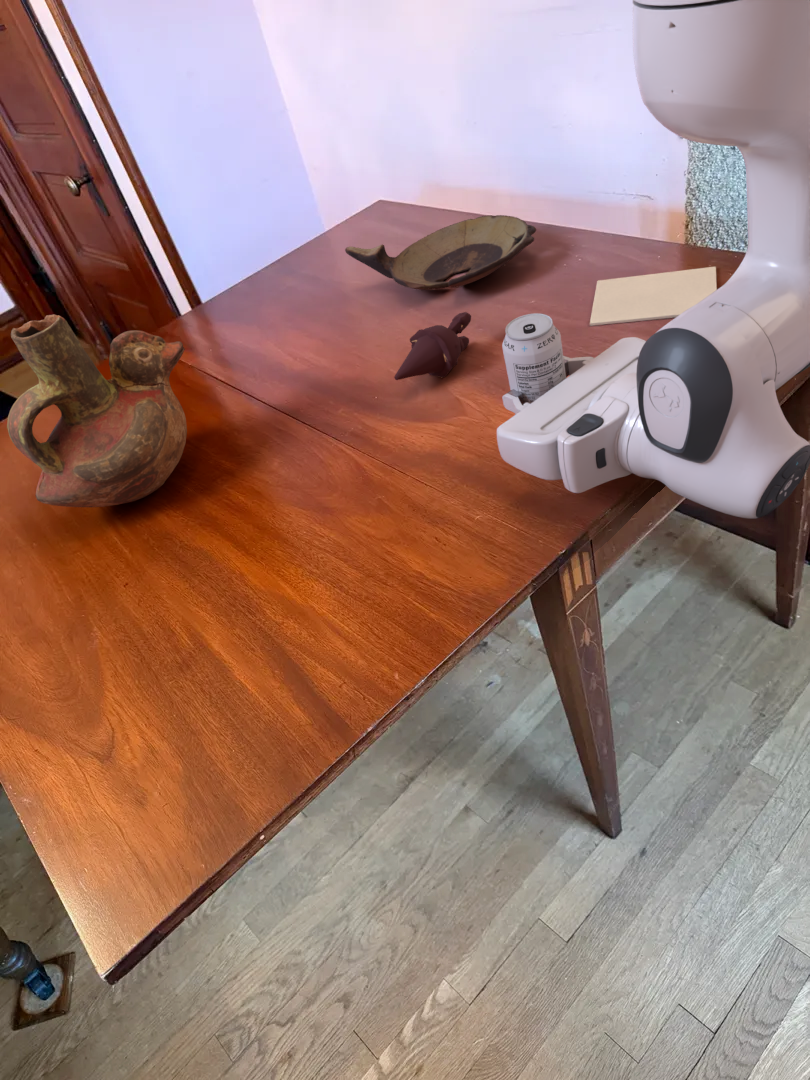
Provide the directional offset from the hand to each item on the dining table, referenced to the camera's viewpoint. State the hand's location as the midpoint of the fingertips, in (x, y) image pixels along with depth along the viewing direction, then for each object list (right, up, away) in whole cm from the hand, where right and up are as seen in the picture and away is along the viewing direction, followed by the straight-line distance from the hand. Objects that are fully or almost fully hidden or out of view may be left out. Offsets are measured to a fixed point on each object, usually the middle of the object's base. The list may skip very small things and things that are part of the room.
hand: (531, 381), depth 81 cm
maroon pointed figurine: (-9, +6, +22) cm, 24 cm away
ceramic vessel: (-49, -9, +21) cm, 54 cm away
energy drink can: (+3, -6, +5) cm, 8 cm away
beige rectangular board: (+20, +16, +21) cm, 33 cm away
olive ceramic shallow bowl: (-6, +27, +43) cm, 51 cm away
